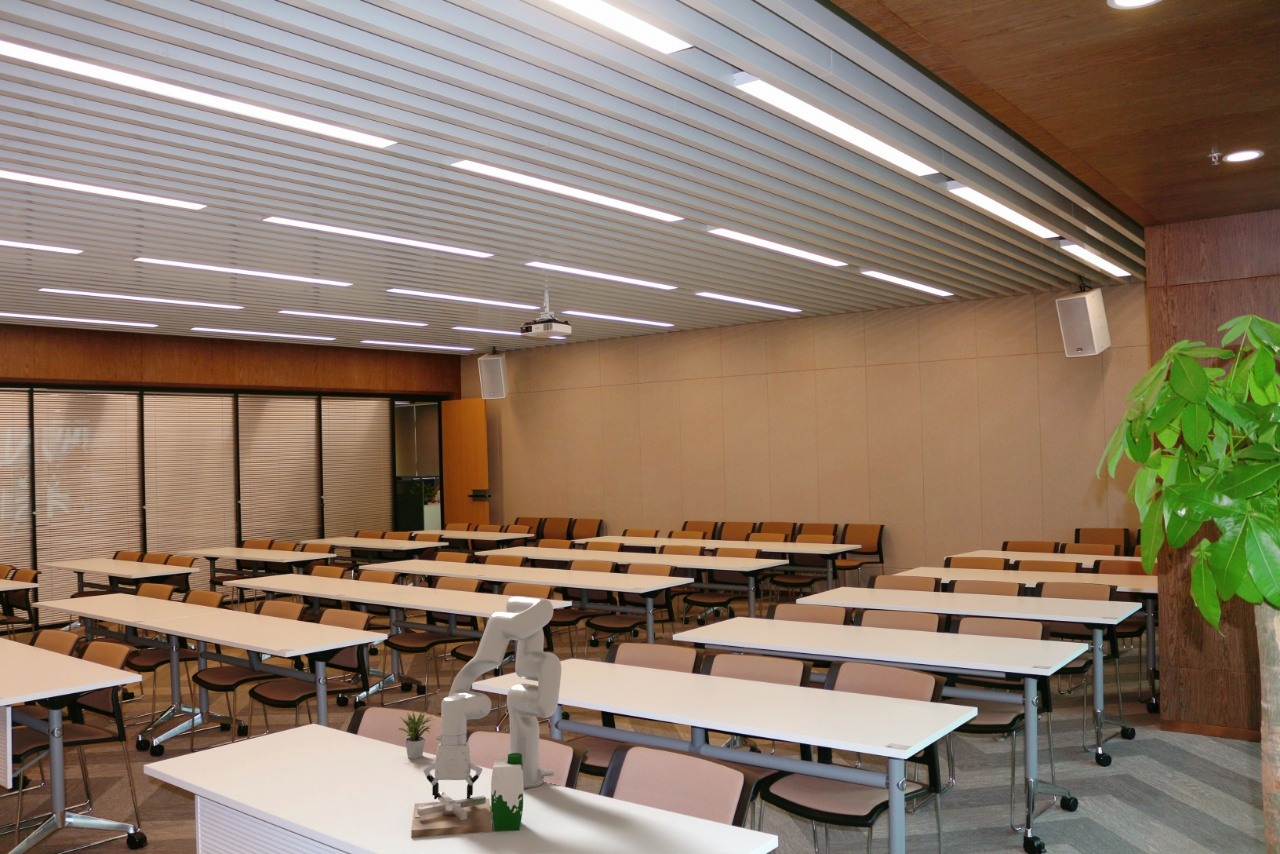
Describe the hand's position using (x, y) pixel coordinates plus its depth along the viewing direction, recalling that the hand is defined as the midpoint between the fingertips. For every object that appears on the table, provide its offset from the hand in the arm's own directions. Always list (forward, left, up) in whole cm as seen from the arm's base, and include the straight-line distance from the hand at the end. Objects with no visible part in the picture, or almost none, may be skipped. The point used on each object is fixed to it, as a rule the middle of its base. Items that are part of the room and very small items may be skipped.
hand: (452, 797), depth 284 cm
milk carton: (-15, +15, -4) cm, 22 cm away
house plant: (+13, -58, -4) cm, 60 cm away
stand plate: (0, +8, -4) cm, 9 cm away
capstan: (0, +8, -2) cm, 8 cm away
